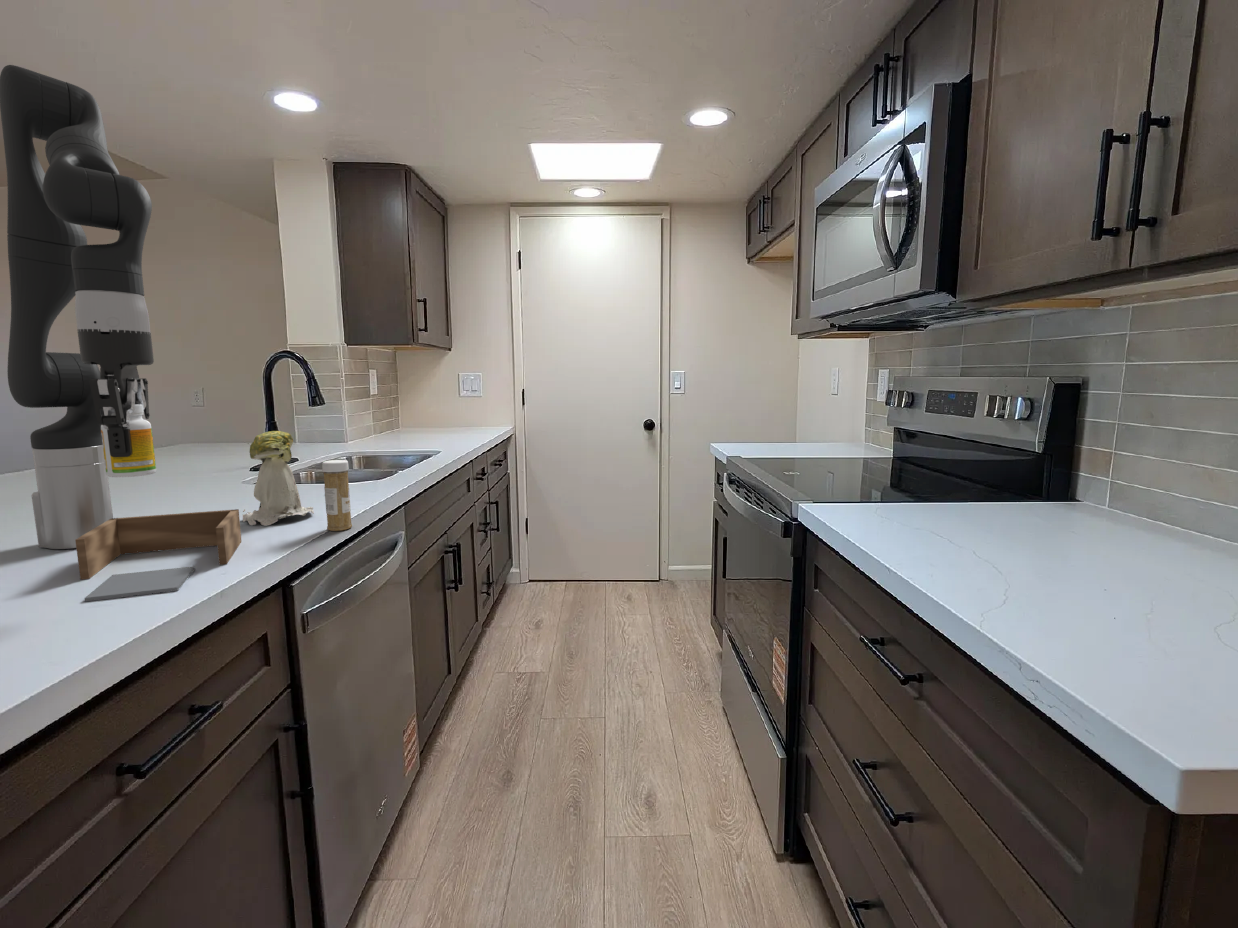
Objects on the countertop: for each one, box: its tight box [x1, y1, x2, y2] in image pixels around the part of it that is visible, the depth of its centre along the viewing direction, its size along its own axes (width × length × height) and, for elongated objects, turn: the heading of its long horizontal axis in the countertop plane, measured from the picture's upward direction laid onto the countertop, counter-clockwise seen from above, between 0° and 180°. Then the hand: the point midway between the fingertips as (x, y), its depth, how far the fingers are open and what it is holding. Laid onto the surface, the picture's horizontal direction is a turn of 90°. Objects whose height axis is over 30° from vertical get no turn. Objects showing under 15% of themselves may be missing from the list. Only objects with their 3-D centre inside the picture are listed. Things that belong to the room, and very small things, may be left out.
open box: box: [75, 508, 242, 580], centre depth 95 cm, size 14×18×6 cm
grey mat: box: [84, 565, 196, 602], centre depth 84 cm, size 10×10×1 cm
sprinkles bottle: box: [321, 459, 353, 532], centre depth 114 cm, size 5×5×14 cm
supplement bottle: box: [101, 404, 157, 478], centre depth 81 cm, size 5×5×10 cm
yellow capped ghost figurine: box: [242, 430, 314, 527], centre depth 122 cm, size 12×13×18 cm
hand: (129, 453), depth 81 cm, fingers closed on supplement bottle, 5 cm apart
